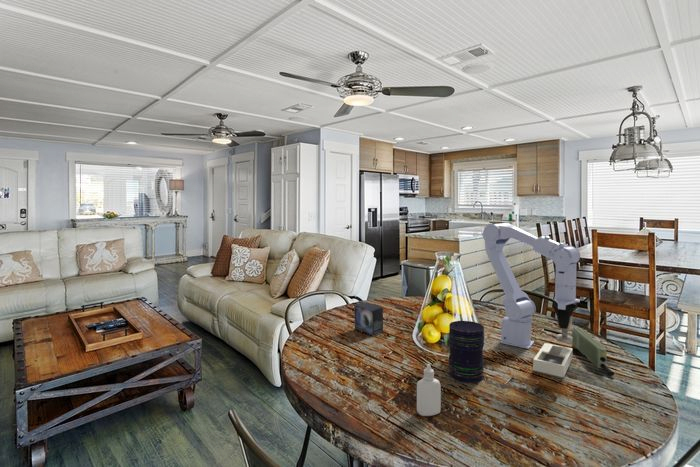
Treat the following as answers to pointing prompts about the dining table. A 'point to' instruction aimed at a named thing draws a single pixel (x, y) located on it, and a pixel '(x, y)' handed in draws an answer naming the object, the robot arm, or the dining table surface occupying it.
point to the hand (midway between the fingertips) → (564, 326)
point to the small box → (368, 318)
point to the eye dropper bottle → (428, 394)
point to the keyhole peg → (565, 333)
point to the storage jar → (466, 351)
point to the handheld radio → (590, 349)
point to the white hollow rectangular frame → (553, 360)
